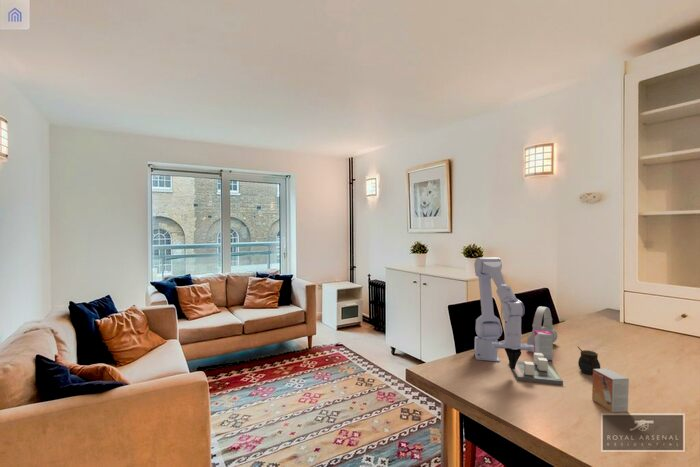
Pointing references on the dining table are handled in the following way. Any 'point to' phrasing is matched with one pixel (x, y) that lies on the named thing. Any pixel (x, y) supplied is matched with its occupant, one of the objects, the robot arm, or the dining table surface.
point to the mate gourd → (588, 361)
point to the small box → (610, 390)
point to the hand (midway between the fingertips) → (512, 368)
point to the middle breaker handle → (542, 364)
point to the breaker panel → (537, 374)
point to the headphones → (546, 326)
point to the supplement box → (544, 344)
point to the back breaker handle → (537, 355)
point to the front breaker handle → (528, 368)
